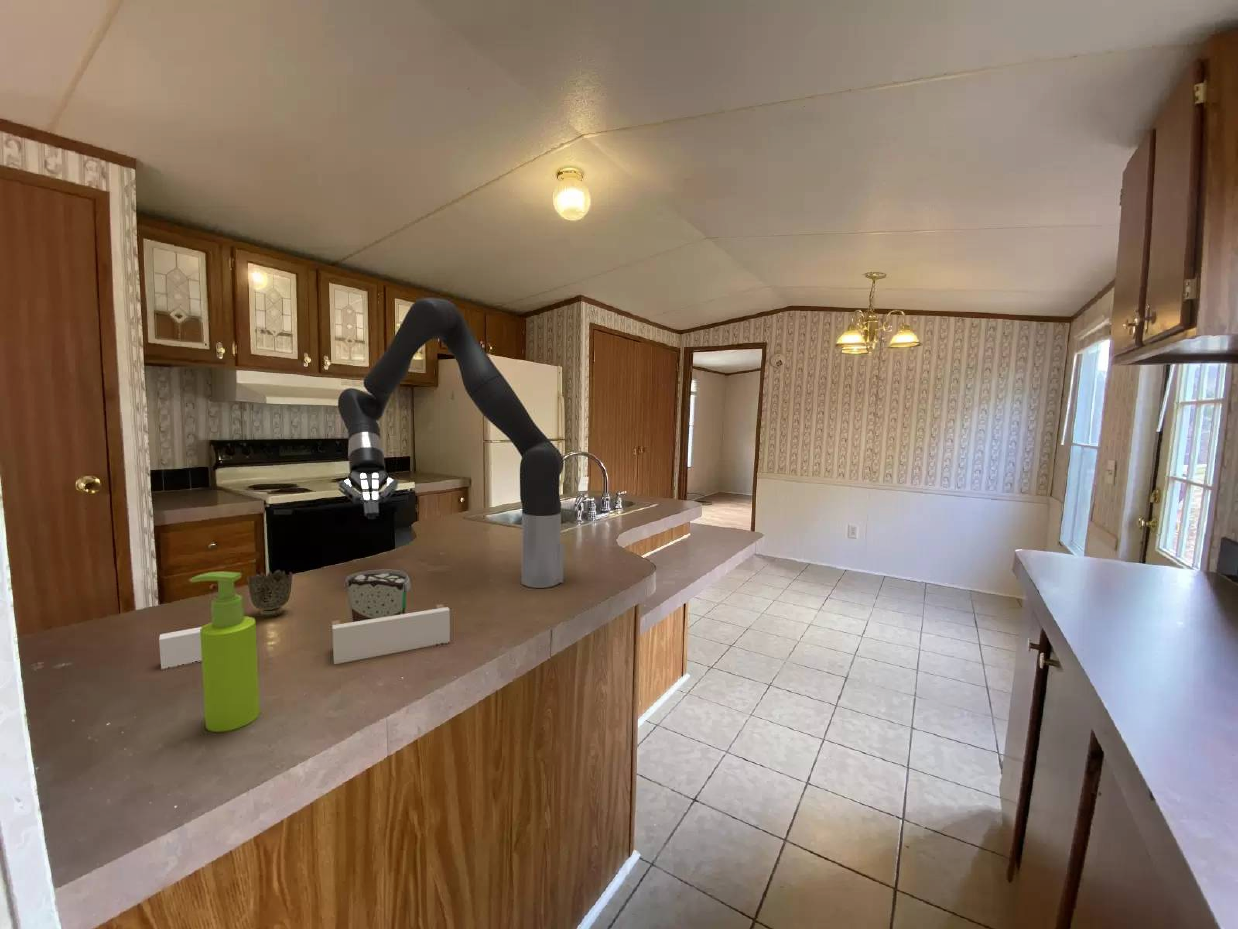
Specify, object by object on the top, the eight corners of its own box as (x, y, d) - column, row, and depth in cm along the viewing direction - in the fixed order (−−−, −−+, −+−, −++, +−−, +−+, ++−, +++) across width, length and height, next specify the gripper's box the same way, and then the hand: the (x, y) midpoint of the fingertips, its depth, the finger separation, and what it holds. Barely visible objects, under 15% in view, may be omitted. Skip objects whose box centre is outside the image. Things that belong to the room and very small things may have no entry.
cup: (302, 612, 108) (300, 573, 107) (264, 625, 101) (263, 584, 100) (278, 605, 111) (276, 567, 110) (240, 617, 104) (238, 577, 103)
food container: (423, 619, 106) (422, 570, 105) (407, 632, 100) (407, 580, 99) (363, 615, 107) (362, 566, 106) (345, 628, 101) (343, 576, 100)
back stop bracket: (442, 629, 101) (442, 598, 101) (449, 642, 96) (449, 610, 96) (332, 649, 92) (331, 615, 92) (334, 664, 87) (332, 629, 86)
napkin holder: (133, 677, 82) (130, 642, 82) (192, 644, 93) (190, 613, 93) (230, 681, 82) (228, 645, 81) (278, 647, 93) (276, 616, 93)
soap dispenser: (216, 707, 74) (208, 566, 72) (268, 706, 75) (262, 567, 73) (186, 732, 68) (176, 581, 66) (243, 731, 69) (235, 581, 67)
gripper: (335, 445, 121) (338, 509, 112) (397, 445, 128) (406, 505, 119) (334, 466, 126) (337, 528, 117) (394, 465, 133) (402, 524, 124)
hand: (372, 516), depth 118 cm, fingers closed
